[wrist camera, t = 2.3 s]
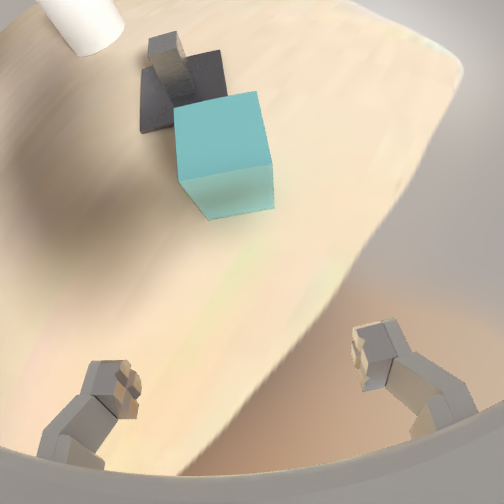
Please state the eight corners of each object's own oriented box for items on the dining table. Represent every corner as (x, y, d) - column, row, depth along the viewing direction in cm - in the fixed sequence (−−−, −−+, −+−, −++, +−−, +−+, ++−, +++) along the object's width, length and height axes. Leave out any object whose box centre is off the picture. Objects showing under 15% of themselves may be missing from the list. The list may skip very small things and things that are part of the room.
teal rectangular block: (208, 220, 27) (178, 181, 18) (201, 161, 28) (173, 108, 19) (274, 208, 27) (272, 163, 18) (262, 149, 28) (256, 91, 19)
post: (142, 134, 29) (111, 93, 22) (143, 72, 31) (120, 30, 24) (230, 113, 29) (217, 63, 21) (220, 52, 30) (209, 5, 23)
